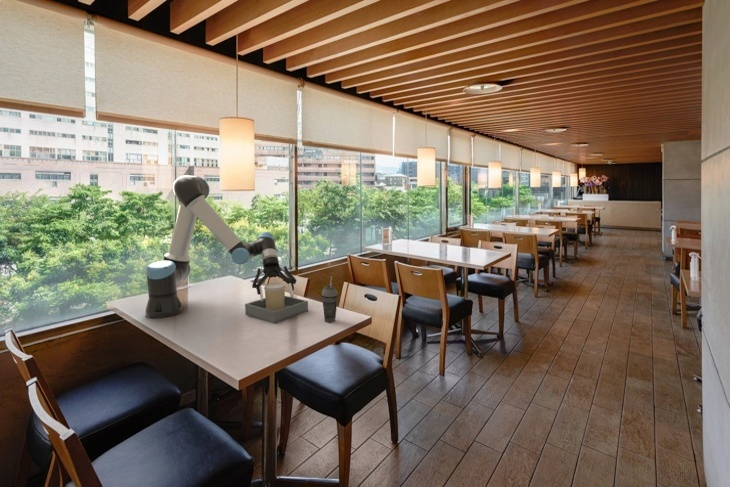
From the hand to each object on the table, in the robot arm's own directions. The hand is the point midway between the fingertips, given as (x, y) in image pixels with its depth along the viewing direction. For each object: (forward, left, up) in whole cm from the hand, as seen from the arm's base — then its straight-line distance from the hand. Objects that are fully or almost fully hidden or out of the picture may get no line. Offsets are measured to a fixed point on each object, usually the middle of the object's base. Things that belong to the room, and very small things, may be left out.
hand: (277, 298), depth 171 cm
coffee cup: (+1, +2, -7) cm, 7 cm away
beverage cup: (+7, -25, -8) cm, 27 cm away
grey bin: (+1, +2, -8) cm, 8 cm away
